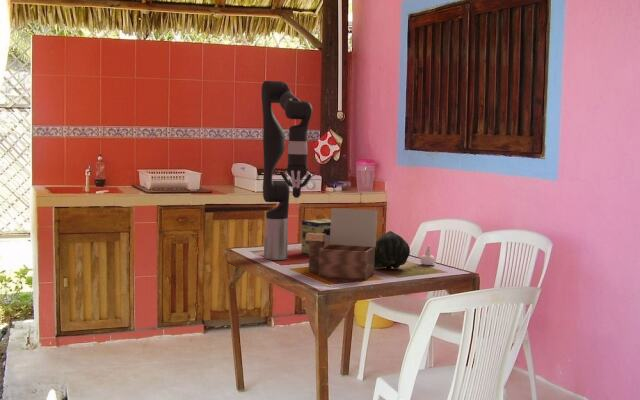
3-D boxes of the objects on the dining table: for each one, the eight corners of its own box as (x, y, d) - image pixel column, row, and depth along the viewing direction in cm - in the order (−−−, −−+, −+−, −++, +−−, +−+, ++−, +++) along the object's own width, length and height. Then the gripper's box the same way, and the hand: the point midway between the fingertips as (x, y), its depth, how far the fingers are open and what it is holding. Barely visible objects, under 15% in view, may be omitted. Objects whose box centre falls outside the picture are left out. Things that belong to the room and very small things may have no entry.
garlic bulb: (427, 262, 301) (428, 243, 301) (438, 264, 296) (438, 245, 296) (416, 263, 297) (417, 245, 297) (427, 265, 292) (428, 246, 292)
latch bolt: (305, 240, 272) (305, 234, 272) (308, 239, 276) (308, 232, 276) (323, 241, 270) (323, 235, 270) (325, 240, 274) (326, 233, 274)
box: (302, 275, 265) (302, 243, 264) (313, 269, 278) (314, 239, 277) (365, 280, 258) (366, 247, 257) (374, 274, 271) (374, 242, 270)
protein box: (300, 255, 313) (301, 220, 312) (326, 252, 324) (326, 218, 323) (316, 258, 306) (316, 222, 304) (342, 255, 316) (342, 220, 315)
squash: (366, 267, 286) (367, 230, 285) (399, 265, 292) (400, 229, 290) (381, 273, 273) (382, 234, 272) (415, 271, 278) (416, 233, 277)
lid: (331, 208, 276) (332, 208, 277) (329, 244, 276) (330, 244, 276) (377, 210, 271) (377, 210, 272) (375, 247, 270) (375, 247, 271)
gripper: (278, 152, 271) (277, 197, 272) (311, 153, 267) (309, 199, 268) (284, 152, 278) (283, 196, 279) (316, 153, 274) (315, 197, 276)
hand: (296, 197), depth 274 cm, fingers closed
